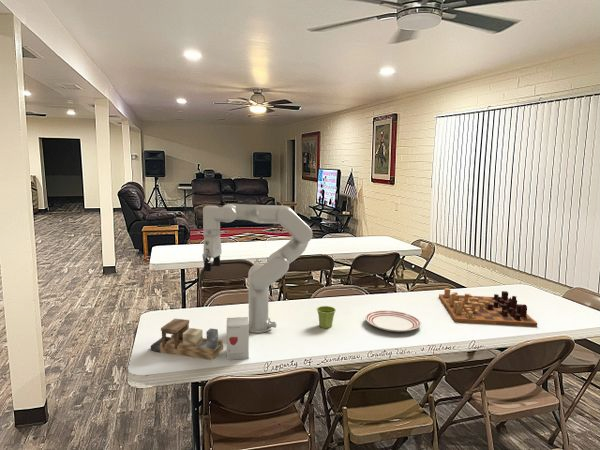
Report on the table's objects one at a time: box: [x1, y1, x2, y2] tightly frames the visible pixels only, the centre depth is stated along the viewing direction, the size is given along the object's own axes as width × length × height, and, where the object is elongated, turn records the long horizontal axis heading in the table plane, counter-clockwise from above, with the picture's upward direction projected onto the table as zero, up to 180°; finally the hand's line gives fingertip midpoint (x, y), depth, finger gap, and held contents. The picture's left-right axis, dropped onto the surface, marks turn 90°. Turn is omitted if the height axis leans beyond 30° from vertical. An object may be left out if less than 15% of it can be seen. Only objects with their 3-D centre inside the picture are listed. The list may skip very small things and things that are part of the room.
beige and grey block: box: [183, 327, 219, 350], centre depth 180 cm, size 14×6×8 cm, turn 76°
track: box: [150, 318, 224, 361], centre depth 182 cm, size 28×11×11 cm, turn 76°
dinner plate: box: [365, 309, 422, 333], centre depth 214 cm, size 27×27×3 cm
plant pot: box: [316, 305, 336, 329], centre depth 211 cm, size 9×9×9 cm
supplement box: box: [226, 316, 250, 361], centre depth 178 cm, size 9×9×15 cm
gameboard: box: [438, 287, 538, 327], centre depth 236 cm, size 40×40×9 cm
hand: (212, 268), depth 200 cm, fingers open, 9 cm apart
